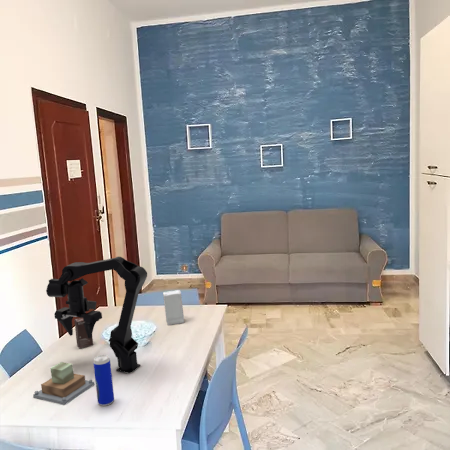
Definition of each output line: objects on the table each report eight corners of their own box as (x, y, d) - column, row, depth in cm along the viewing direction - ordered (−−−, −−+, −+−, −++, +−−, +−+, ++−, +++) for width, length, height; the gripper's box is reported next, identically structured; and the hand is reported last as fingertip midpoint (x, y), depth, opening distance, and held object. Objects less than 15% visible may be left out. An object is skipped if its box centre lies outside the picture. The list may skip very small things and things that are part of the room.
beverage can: (99, 398, 151) (94, 355, 149) (115, 397, 151) (110, 353, 149) (96, 407, 146) (91, 362, 143) (113, 405, 146) (108, 360, 144)
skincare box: (182, 319, 221) (180, 289, 219) (184, 323, 215) (182, 292, 213) (165, 321, 219) (162, 291, 217) (166, 325, 213) (163, 294, 211)
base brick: (85, 383, 160) (84, 375, 159) (64, 397, 151) (63, 389, 150) (64, 379, 164) (63, 371, 164) (42, 392, 155) (41, 384, 155)
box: (79, 349, 193) (76, 321, 191) (76, 346, 196) (73, 319, 195) (94, 345, 196) (91, 318, 194) (90, 342, 200) (87, 315, 198)
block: (74, 377, 158) (72, 364, 157) (63, 384, 154) (61, 370, 153) (63, 375, 160) (61, 362, 160) (52, 382, 156) (50, 368, 155)
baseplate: (94, 384, 161) (93, 379, 160) (64, 404, 148) (63, 399, 148) (64, 378, 167) (63, 373, 167) (33, 397, 155) (32, 392, 154)
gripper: (109, 292, 175) (113, 331, 177) (72, 289, 183) (77, 326, 185) (89, 301, 165) (94, 342, 167) (51, 297, 173) (56, 337, 175)
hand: (80, 336), depth 174 cm, fingers open, 9 cm apart
